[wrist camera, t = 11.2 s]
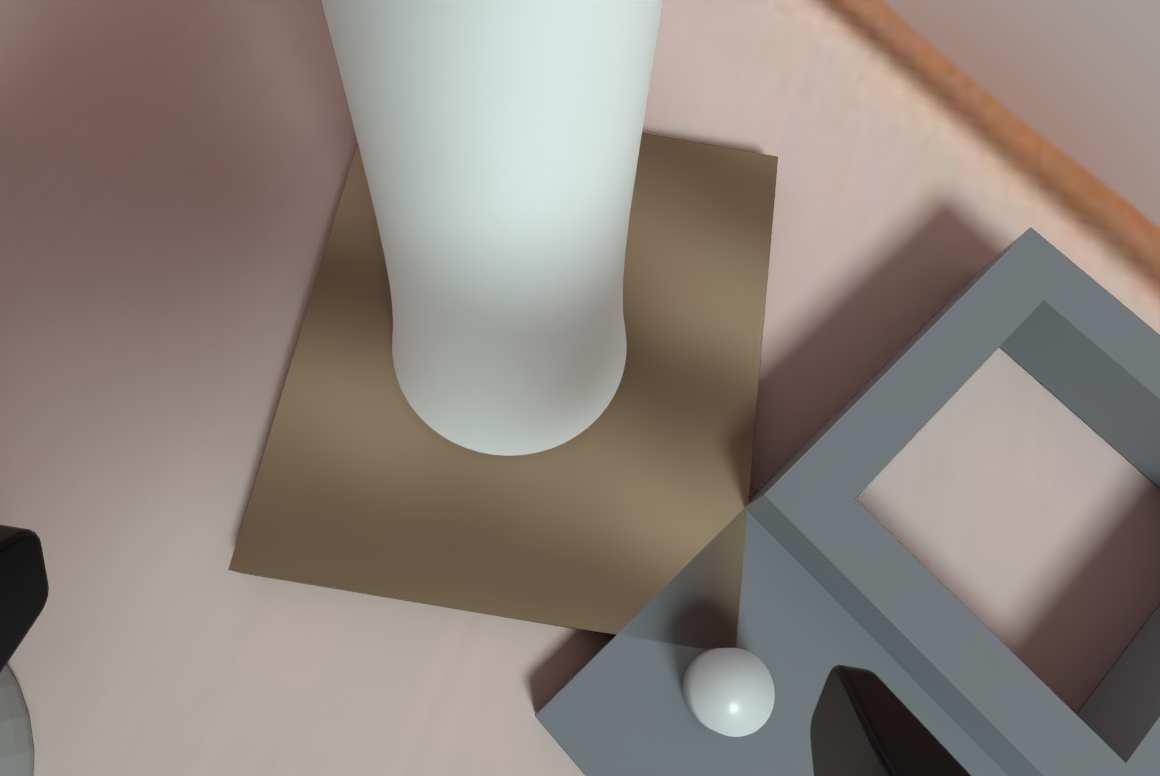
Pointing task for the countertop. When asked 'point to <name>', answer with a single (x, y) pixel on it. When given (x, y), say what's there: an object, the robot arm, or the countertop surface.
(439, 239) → the cosmetic bottle
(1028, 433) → the countertop surface
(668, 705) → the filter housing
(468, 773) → the countertop surface
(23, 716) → the glass holder
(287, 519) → the walnut pad
